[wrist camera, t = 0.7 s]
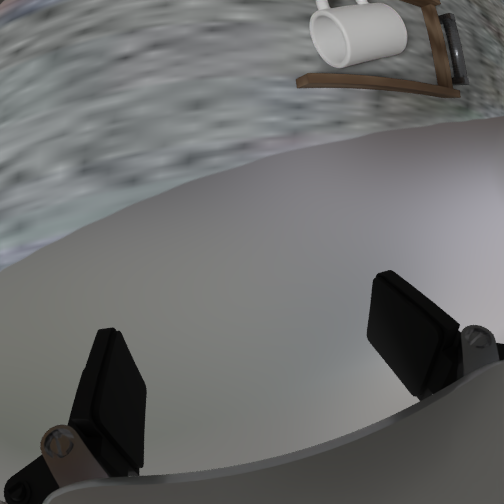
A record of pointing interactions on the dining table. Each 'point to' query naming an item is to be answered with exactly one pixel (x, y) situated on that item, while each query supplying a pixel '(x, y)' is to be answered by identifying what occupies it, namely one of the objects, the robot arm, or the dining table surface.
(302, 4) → the dining table surface
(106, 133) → the dining table surface
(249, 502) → the robot arm
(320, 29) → the mug
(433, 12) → the frame
